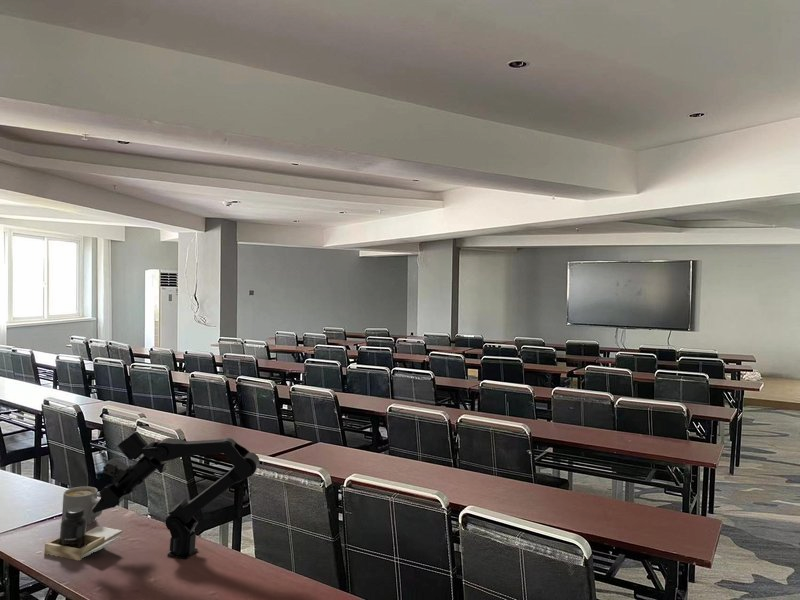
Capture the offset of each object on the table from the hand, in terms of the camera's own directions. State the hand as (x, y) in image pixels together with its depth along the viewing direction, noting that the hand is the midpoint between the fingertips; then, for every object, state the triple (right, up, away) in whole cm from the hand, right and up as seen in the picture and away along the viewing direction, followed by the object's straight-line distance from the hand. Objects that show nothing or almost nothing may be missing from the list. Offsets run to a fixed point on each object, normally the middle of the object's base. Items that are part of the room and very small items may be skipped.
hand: (100, 506), depth 173 cm
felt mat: (-6, -13, +11) cm, 18 cm away
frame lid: (+1, -14, -3) cm, 14 cm away
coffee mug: (-16, -12, +19) cm, 28 cm away
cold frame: (-7, -13, -1) cm, 15 cm away
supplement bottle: (-8, -13, -1) cm, 16 cm away
